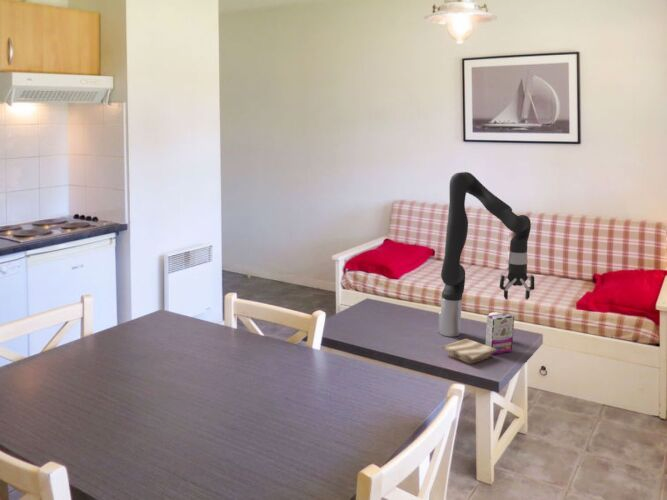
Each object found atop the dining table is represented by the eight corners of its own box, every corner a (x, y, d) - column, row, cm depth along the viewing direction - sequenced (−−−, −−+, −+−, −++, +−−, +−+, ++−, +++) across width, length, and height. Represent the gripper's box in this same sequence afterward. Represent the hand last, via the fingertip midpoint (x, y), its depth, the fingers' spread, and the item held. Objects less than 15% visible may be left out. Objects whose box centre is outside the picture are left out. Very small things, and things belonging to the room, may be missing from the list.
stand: (441, 355, 278) (442, 346, 277) (465, 347, 288) (466, 338, 287) (471, 366, 266) (472, 357, 265) (495, 358, 276) (496, 349, 275)
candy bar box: (504, 348, 288) (507, 312, 284) (512, 352, 283) (515, 316, 280) (483, 351, 283) (486, 315, 280) (490, 355, 279) (493, 318, 275)
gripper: (533, 260, 281) (531, 297, 284) (499, 260, 282) (498, 296, 285) (537, 264, 274) (535, 301, 276) (502, 263, 275) (501, 301, 277)
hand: (516, 299), depth 281 cm, fingers open, 8 cm apart
